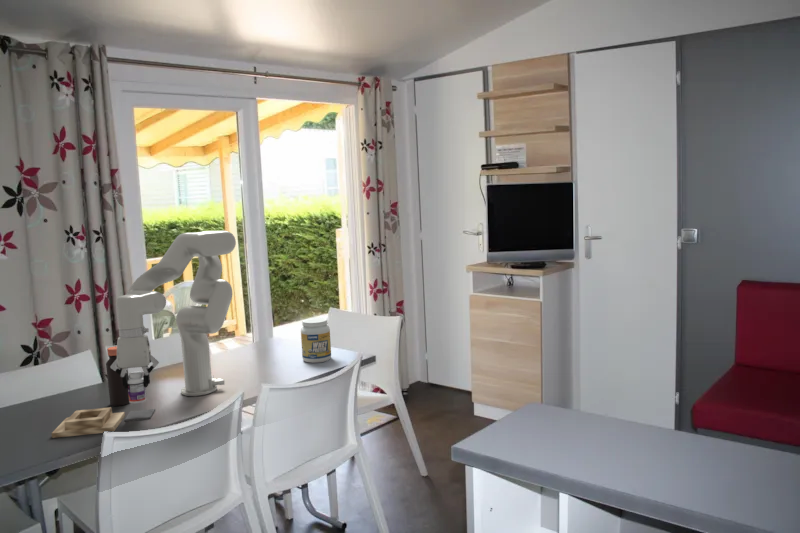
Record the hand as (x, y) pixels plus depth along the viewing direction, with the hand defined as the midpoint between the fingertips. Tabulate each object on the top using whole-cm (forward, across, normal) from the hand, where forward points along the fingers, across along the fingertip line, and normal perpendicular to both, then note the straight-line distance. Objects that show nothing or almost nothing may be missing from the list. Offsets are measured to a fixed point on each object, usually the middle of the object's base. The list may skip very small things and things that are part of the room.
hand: (136, 386), depth 218 cm
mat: (+10, 0, 0) cm, 10 cm away
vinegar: (+10, +10, -16) cm, 22 cm away
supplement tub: (+10, -60, -52) cm, 80 cm away
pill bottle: (+5, 0, 0) cm, 5 cm away
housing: (+10, +14, +6) cm, 18 cm away
